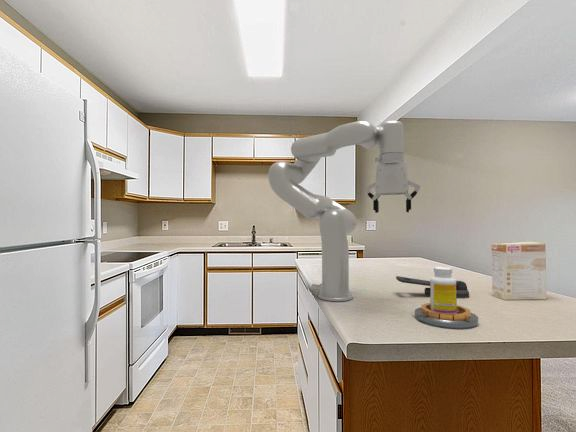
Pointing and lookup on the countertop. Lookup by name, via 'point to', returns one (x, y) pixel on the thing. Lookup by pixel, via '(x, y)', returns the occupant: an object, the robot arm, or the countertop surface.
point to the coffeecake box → (519, 270)
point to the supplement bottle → (443, 291)
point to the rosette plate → (447, 318)
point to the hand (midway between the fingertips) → (392, 212)
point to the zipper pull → (460, 285)
